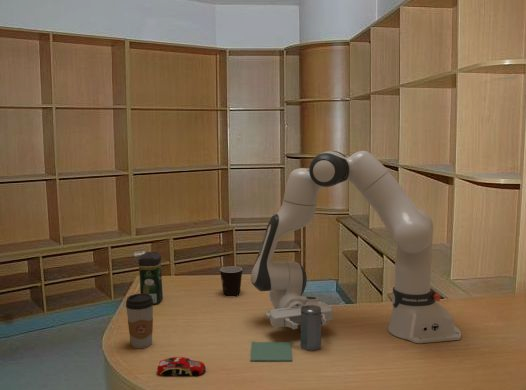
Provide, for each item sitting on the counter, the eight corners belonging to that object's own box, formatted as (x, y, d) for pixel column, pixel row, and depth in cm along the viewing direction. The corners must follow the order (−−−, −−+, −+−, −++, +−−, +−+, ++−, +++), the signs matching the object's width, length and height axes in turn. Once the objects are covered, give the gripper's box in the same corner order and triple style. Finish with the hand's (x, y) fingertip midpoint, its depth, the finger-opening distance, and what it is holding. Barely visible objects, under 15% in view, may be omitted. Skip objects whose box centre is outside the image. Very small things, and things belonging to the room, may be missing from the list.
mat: (290, 343, 168) (290, 342, 168) (292, 361, 156) (292, 359, 156) (251, 343, 168) (251, 342, 168) (250, 361, 156) (250, 360, 156)
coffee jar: (143, 296, 211) (141, 250, 208) (164, 296, 211) (162, 249, 208) (138, 305, 201) (135, 257, 198) (159, 305, 201) (157, 256, 198)
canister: (319, 342, 169) (320, 305, 167) (321, 350, 163) (321, 312, 161) (300, 342, 169) (300, 305, 167) (301, 350, 163) (301, 312, 161)
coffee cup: (128, 351, 163) (125, 303, 161) (127, 340, 171) (124, 294, 169) (156, 348, 166) (154, 300, 163) (154, 337, 173) (152, 291, 171)
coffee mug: (239, 298, 208) (239, 273, 206) (217, 297, 210) (217, 272, 208) (246, 288, 219) (246, 264, 218) (225, 287, 221) (225, 263, 219)
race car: (207, 368, 153) (206, 355, 152) (204, 378, 148) (204, 364, 147) (160, 367, 154) (159, 354, 153) (155, 377, 148) (155, 363, 148)
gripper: (263, 303, 175) (277, 319, 162) (322, 296, 181) (340, 311, 168) (263, 322, 176) (277, 339, 163) (322, 314, 182) (340, 330, 169)
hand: (310, 324), depth 166 cm, fingers open, 8 cm apart
